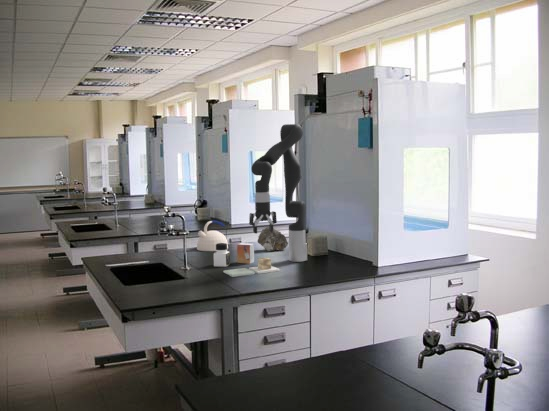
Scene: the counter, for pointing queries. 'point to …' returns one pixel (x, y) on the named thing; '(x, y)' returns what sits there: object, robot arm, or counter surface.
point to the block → (264, 263)
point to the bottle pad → (239, 272)
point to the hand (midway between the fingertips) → (263, 232)
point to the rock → (272, 240)
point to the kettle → (210, 238)
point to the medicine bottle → (221, 255)
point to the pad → (257, 270)
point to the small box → (245, 253)
